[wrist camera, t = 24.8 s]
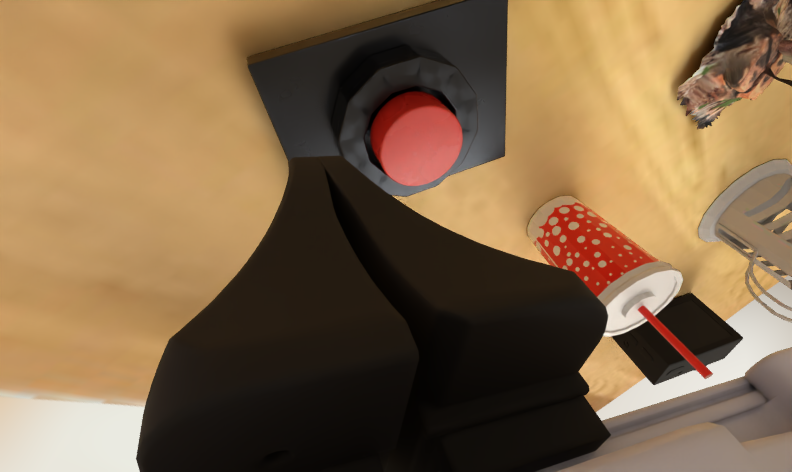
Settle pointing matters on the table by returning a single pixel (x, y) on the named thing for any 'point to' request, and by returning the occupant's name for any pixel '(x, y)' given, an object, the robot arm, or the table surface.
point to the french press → (756, 222)
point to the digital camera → (690, 327)
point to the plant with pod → (741, 59)
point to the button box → (390, 83)
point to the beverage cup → (609, 268)
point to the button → (416, 138)
